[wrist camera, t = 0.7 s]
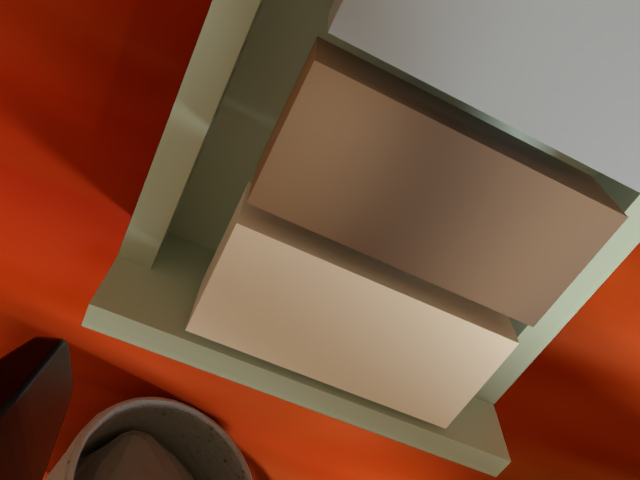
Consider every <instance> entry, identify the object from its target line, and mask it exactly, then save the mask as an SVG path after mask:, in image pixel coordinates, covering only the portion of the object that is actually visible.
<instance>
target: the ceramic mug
mask: <svg viewBox="0 0 640 480" xmlns="http://www.w3.org/2000/svg"><path fill="white" fill-rule="evenodd" d="M45 480H253V479H252V475H251V472H250V469H249V467H248V465H247V463H246V461H245V458H244V456H243V454H242V452H241V451H240V450H239V448H238V447H237V445H236V444H235V443H234V441H233V440H232V439H231V437H230V436H229V435H228V433H227V432H226V431H225V430H224V429H222V428H221V427H220V426H219V425H218V424H217V423H216V422H215V421H214V420H212V419H211V418H210V417H208V416H207V415H205V414H204V413H202V412H200V411H199V410H197V409H196V408H193V407H191V406H189V405H186V404H184V403H182V402H179V401H177V400H174V399H169V398H163V397H137V398H131V399H128V400H125V401H122V402H119V403H117V404H115V405H112V406H110V407H108V408H106V409H105V410H103V411H102V412H100V413H99V414H97V415H96V416H95V417H94V418H93V419H92V420H91V421H90V422H89V423H88V424H87V425H86V426H85V427H84V428H83V429H82V430H81V431H80V433H79V434H78V435H77V436H76V438H75V439H74V440H73V442H72V443H71V445H70V446H69V448H68V449H67V451H66V452H65V453H64V455H63V456H62V457H61V459H60V460H59V461H58V463H57V464H56V465H55V466H54V468H53V469H52V470H51V472H50V473H49V474H48V476H47V477H46V478H45Z"/></svg>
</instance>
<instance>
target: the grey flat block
mask: <svg viewBox="0 0 640 480" xmlns="http://www.w3.org/2000/svg"><path fill="white" fill-rule="evenodd" d="M328 33H330V34H332V35H334V36H336V37H338V38H339V39H341V40H343V41H345V42H347V43H349V44H351V45H353V46H355V47H357V48H359V49H361V50H363V51H365V52H367V53H369V54H371V55H373V56H375V57H376V58H378V59H380V60H382V61H384V62H386V63H388V64H390V65H392V66H394V67H396V68H398V69H400V70H402V71H404V72H406V73H408V74H410V75H411V76H413V77H415V78H417V79H419V80H421V81H423V82H425V83H427V84H429V85H431V86H433V87H435V88H437V89H439V90H441V91H443V92H445V93H447V94H448V95H450V96H452V97H454V98H456V99H458V100H460V101H462V102H464V103H466V104H468V105H470V106H472V107H474V108H476V109H478V110H480V111H482V112H483V113H485V114H487V115H489V116H491V117H493V118H495V119H497V120H499V121H501V122H503V123H505V124H507V125H509V126H511V127H513V128H515V129H517V130H518V131H520V132H522V133H524V134H526V135H528V136H530V137H532V138H534V139H536V140H538V141H540V142H542V143H544V144H546V145H548V146H550V147H552V148H554V149H555V150H557V151H559V152H561V153H563V154H565V155H567V156H569V157H571V158H573V159H575V160H577V161H579V162H581V163H583V164H585V165H587V166H589V167H590V168H592V169H594V170H596V171H598V172H600V173H602V174H604V175H606V176H608V177H610V178H612V179H614V180H616V181H618V182H620V183H622V184H624V185H626V186H627V187H629V188H631V189H633V190H635V191H637V192H639V193H640V0H334V2H333V4H332V6H331V8H330V10H329V17H328Z"/></svg>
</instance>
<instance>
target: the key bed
mask: <svg viewBox="0 0 640 480" xmlns="http://www.w3.org/2000/svg"><path fill="white" fill-rule="evenodd" d="M333 2H334V0H212V3H211V6H210V8H209V11H208V14H207V16H206V19H205V22H204V24H203V27H202V30H201V33H200V35H199V38H198V41H197V43H196V46H195V49H194V51H193V54H192V57H191V59H190V62H189V65H188V68H187V70H186V73H185V76H184V78H183V81H182V84H181V86H180V89H179V92H178V95H177V97H176V100H175V103H174V105H173V108H172V111H171V113H170V116H169V119H168V121H167V124H166V127H165V130H164V132H163V135H162V138H161V140H160V143H159V146H158V148H157V151H156V154H155V156H154V159H153V162H152V165H151V167H150V170H149V173H148V175H147V178H146V181H145V183H144V186H143V189H142V191H141V194H140V197H139V200H138V202H137V205H136V208H135V210H134V213H133V216H132V218H131V221H130V224H129V226H128V229H127V232H126V235H125V237H124V240H123V243H122V245H121V248H120V251H119V253H118V256H117V258H116V259H115V261H114V263H113V265H112V266H111V268H110V270H109V271H108V273H107V275H106V276H105V278H104V280H103V281H102V283H101V285H100V286H99V288H98V290H97V291H96V293H95V295H94V297H93V298H92V300H91V302H90V303H89V306H88V308H87V311H86V314H85V317H84V320H83V322H82V325H81V326H83V327H86V328H89V329H92V330H94V331H97V332H100V333H103V334H105V335H108V336H111V337H113V338H116V339H119V340H122V341H124V342H127V343H130V344H133V345H135V346H138V347H141V348H144V349H146V350H149V351H152V352H155V353H157V354H160V355H163V356H165V357H168V358H171V359H174V360H176V361H179V362H182V363H185V364H187V365H190V366H193V367H196V368H198V369H201V370H204V371H206V372H209V373H212V374H215V375H217V376H220V377H223V378H226V379H228V380H231V381H234V382H237V383H239V384H242V385H245V386H248V387H250V388H253V389H256V390H258V391H261V392H264V393H267V394H269V395H272V396H275V397H278V398H280V399H283V400H286V401H289V402H291V403H294V404H297V405H300V406H302V407H305V408H308V409H310V410H313V411H316V412H319V413H321V414H324V415H327V416H330V417H332V418H335V419H338V420H341V421H343V422H346V423H349V424H351V425H354V426H357V427H360V428H362V429H365V430H368V431H371V432H373V433H376V434H379V435H382V436H384V437H387V438H390V439H393V440H395V441H398V442H401V443H403V444H406V445H409V446H412V447H414V448H417V449H420V450H423V451H425V452H428V453H431V454H434V455H436V456H439V457H442V458H445V459H447V460H450V461H453V462H455V463H458V464H461V465H464V466H466V467H469V468H472V469H475V470H477V471H480V472H483V473H486V474H488V475H491V476H494V477H497V476H498V475H499V474H500V473H501V472H502V471H503V470H504V469H505V468H506V467H507V466H508V465H509V464H510V463H511V459H510V456H509V453H508V450H507V446H506V443H505V440H504V437H503V433H502V430H501V427H500V424H499V420H498V417H497V414H496V411H495V407H494V404H495V403H496V402H497V401H498V399H499V398H500V397H501V396H502V395H503V394H504V393H505V392H506V391H507V389H508V388H509V387H510V386H511V385H512V384H513V383H514V382H515V381H516V379H517V378H518V377H519V376H520V375H521V374H522V373H523V372H524V370H525V369H526V368H527V367H528V366H529V365H530V364H531V363H532V362H533V360H534V359H535V358H536V357H537V356H538V355H539V354H540V353H541V352H542V350H543V349H544V348H545V347H546V346H547V345H548V344H549V343H550V342H551V340H552V339H553V338H554V337H555V336H556V335H557V334H558V333H559V331H560V330H561V329H562V328H563V327H564V326H565V325H566V324H567V323H568V321H569V320H570V319H571V318H572V317H573V316H574V315H575V314H576V313H577V311H578V310H579V309H580V308H581V307H582V306H583V305H584V304H585V302H586V301H587V300H588V299H589V298H590V297H591V296H592V295H593V294H594V292H595V291H596V290H597V289H598V288H599V287H600V286H601V285H602V284H603V282H604V281H605V280H606V279H607V278H608V277H609V276H610V275H611V273H612V272H613V271H614V270H615V269H616V268H617V267H618V266H619V265H620V263H621V262H622V261H623V260H624V259H625V258H626V257H627V256H628V255H629V253H630V252H631V251H632V250H633V249H634V248H635V247H636V246H637V244H638V243H639V242H640V193H639V192H637V191H635V190H633V189H631V188H629V187H627V186H626V185H624V184H622V183H620V182H618V181H616V180H614V179H612V178H610V177H608V176H606V175H604V174H602V173H600V172H598V171H596V170H594V169H592V168H590V167H589V166H587V165H585V164H583V163H581V162H579V161H577V160H575V159H573V158H571V157H569V156H567V155H565V154H563V153H561V152H559V151H557V150H555V149H554V148H552V147H550V146H548V145H546V144H544V143H542V142H540V141H538V140H536V139H534V138H532V137H530V136H528V135H526V134H524V133H522V132H520V131H518V130H517V129H515V128H513V127H511V126H509V125H507V124H505V123H503V122H501V121H499V120H497V119H495V118H493V117H491V116H489V115H487V114H485V113H483V112H482V111H480V110H478V109H476V108H474V107H472V106H470V105H468V104H466V103H464V102H462V101H460V100H458V99H456V98H454V97H452V96H450V95H448V94H447V93H445V92H443V91H441V90H439V89H437V88H435V87H433V86H431V85H429V84H427V83H425V82H423V81H421V80H419V79H417V78H415V77H413V76H411V75H410V74H408V73H406V72H404V71H402V70H400V69H398V68H396V67H394V66H392V65H390V64H388V63H386V62H384V61H382V60H380V59H378V58H376V57H375V56H373V55H371V54H369V53H367V52H365V51H363V50H361V49H359V48H357V47H355V46H353V45H351V44H349V43H347V42H345V41H343V40H341V39H339V38H338V37H336V36H334V35H332V34H330V33H328V17H329V10H330V8H331V6H332V4H333ZM317 36H318V37H320V38H322V39H324V40H326V41H328V42H330V43H332V44H334V45H336V46H338V47H340V48H342V49H344V50H346V51H348V52H350V53H352V54H354V55H356V56H357V57H359V58H361V59H363V60H365V61H367V62H369V63H371V64H373V65H375V66H377V67H379V68H381V69H383V70H385V71H387V72H389V73H391V74H393V75H395V76H397V77H399V78H401V79H403V80H404V81H406V82H408V83H410V84H412V85H414V86H416V87H418V88H420V89H422V90H424V91H426V92H428V93H430V94H432V95H434V96H436V97H438V98H440V99H442V100H444V101H446V102H448V103H450V104H451V105H453V106H455V107H457V108H459V109H461V110H463V111H465V112H467V113H469V114H471V115H473V116H475V117H477V118H479V119H481V120H483V121H485V122H487V123H489V124H491V125H493V126H495V127H497V128H499V129H500V130H502V131H504V132H506V133H508V134H510V135H512V136H514V137H516V138H518V139H520V140H522V141H524V142H526V143H528V144H530V145H532V146H534V147H536V148H538V149H540V150H542V151H544V152H546V153H547V154H549V155H551V156H553V157H555V158H557V159H559V160H561V161H563V162H565V163H567V164H569V165H571V166H573V167H575V168H577V169H579V170H581V171H583V172H585V173H587V174H589V175H591V176H592V177H593V178H594V180H595V181H596V182H597V183H598V184H599V185H600V186H601V187H602V188H603V190H604V191H605V192H606V193H607V194H608V195H609V196H610V197H611V199H612V200H613V201H614V202H615V203H616V204H617V205H618V206H619V207H620V209H621V210H622V211H623V212H624V213H625V214H626V215H627V216H628V218H627V219H626V221H625V222H624V223H623V224H622V225H621V226H620V228H619V229H618V230H617V231H616V232H615V233H614V235H613V236H612V237H611V238H610V239H609V240H608V241H607V243H606V244H605V245H604V246H603V247H602V248H601V250H600V251H599V252H598V253H597V254H596V255H595V257H594V258H593V259H592V260H591V261H590V262H589V263H588V265H587V266H586V267H585V268H584V269H583V270H582V272H581V273H580V274H579V275H578V276H577V277H576V279H575V280H574V281H573V282H572V283H571V284H570V285H569V287H568V288H567V289H566V290H565V291H564V292H563V294H562V295H561V296H560V297H559V298H558V299H557V301H556V302H555V303H554V304H553V305H552V306H551V307H550V309H549V310H548V311H547V312H546V313H545V314H544V316H543V317H542V318H541V319H540V320H539V321H538V323H537V324H536V325H535V326H534V327H531V326H529V325H527V324H524V323H522V322H520V321H518V320H515V319H513V318H511V317H509V319H510V321H511V324H512V326H513V329H514V331H515V334H516V336H517V339H518V341H519V345H518V346H517V347H516V348H515V349H514V350H513V351H512V353H511V354H510V355H509V356H508V357H507V358H506V360H505V361H504V362H503V363H502V364H501V365H500V367H499V368H498V369H497V370H496V371H495V372H494V373H493V375H492V376H491V377H490V378H489V379H488V380H487V382H486V383H485V384H484V385H483V386H482V387H481V389H480V390H479V391H478V392H477V393H476V394H475V395H474V397H473V398H472V399H471V400H470V401H469V402H468V404H467V405H466V406H465V407H464V408H463V409H462V411H461V412H460V413H459V414H458V415H457V416H456V417H455V419H454V420H453V421H452V422H451V423H450V424H449V426H448V427H447V428H446V429H445V428H442V427H440V426H437V425H434V424H432V423H429V422H426V421H424V420H421V419H418V418H416V417H413V416H410V415H408V414H405V413H403V412H400V411H397V410H395V409H392V408H389V407H387V406H384V405H381V404H379V403H376V402H373V401H371V400H368V399H365V398H363V397H360V396H358V395H355V394H352V393H350V392H347V391H344V390H342V389H339V388H336V387H334V386H331V385H328V384H326V383H323V382H320V381H318V380H315V379H313V378H310V377H307V376H305V375H302V374H299V373H297V372H294V371H291V370H289V369H286V368H283V367H281V366H278V365H275V364H273V363H270V362H268V361H265V360H262V359H260V358H257V357H254V356H252V355H249V354H246V353H244V352H241V351H238V350H236V349H233V348H230V347H228V346H225V345H223V344H220V343H217V342H215V341H212V340H209V339H207V338H204V337H201V336H199V335H196V334H193V333H191V332H188V331H185V330H186V327H187V324H188V321H189V318H190V315H191V312H192V309H193V306H194V303H195V300H196V297H197V294H198V292H199V289H200V286H201V283H202V280H203V278H204V276H205V274H206V272H207V269H208V267H209V265H210V263H211V261H212V259H213V257H214V255H215V252H216V250H217V248H218V246H219V244H220V242H221V240H222V238H223V235H224V233H225V231H226V229H227V227H228V225H229V223H230V221H231V218H232V216H233V214H234V212H235V210H236V208H237V206H238V204H239V201H240V199H241V197H242V195H243V193H244V191H245V189H246V187H247V184H248V182H251V183H252V181H253V177H254V174H255V170H256V167H257V163H258V161H259V159H260V157H261V155H262V153H263V150H264V148H265V146H266V144H267V142H268V140H269V138H270V136H271V133H272V131H273V129H274V127H275V125H276V123H277V121H278V119H279V116H280V114H281V112H282V110H283V108H284V106H285V104H286V102H287V99H288V97H289V95H290V93H291V91H292V89H293V87H294V85H295V82H296V80H297V78H298V76H299V74H300V72H301V70H302V68H303V65H304V63H305V61H306V59H307V57H308V55H309V53H310V51H311V48H312V46H313V44H314V42H315V40H316V38H317Z"/></svg>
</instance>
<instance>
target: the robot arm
mask: <svg viewBox="0 0 640 480" xmlns="http://www.w3.org/2000/svg"><path fill="white" fill-rule="evenodd" d="M72 390H73V376H72V369H71V361H70V354H69V347H68V344H67V342H66V341H65V340H63V339H60V338H50V337H35V338H33V339H31V340H29V341H28V342H26V343H24V344H23V345H21V346H20V347H18V348H16V349H15V350H13V351H12V352H10V353H9V354H7V355H5V356H4V357H2V358H1V359H0V480H42V479H43V476H44V474H45V471H46V468H47V465H48V462H49V459H50V456H51V453H52V451H53V448H54V445H55V442H56V439H57V436H58V433H59V430H60V427H61V425H62V422H63V419H64V416H65V413H66V410H67V407H68V404H69V402H70V399H71V395H72Z"/></svg>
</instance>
